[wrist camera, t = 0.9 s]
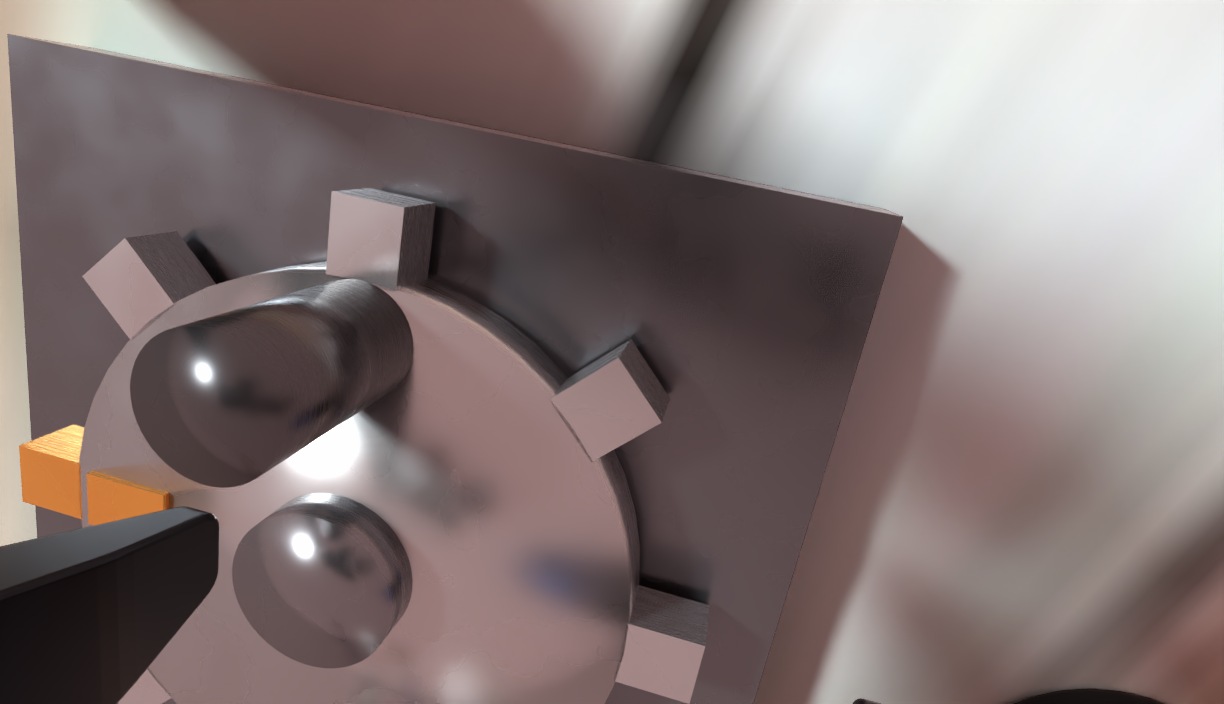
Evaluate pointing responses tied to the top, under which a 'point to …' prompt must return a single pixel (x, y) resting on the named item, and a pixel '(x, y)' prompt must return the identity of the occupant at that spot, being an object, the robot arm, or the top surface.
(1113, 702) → the aerosol can
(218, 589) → the sprocket
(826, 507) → the top surface
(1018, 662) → the top surface
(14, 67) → the index base
